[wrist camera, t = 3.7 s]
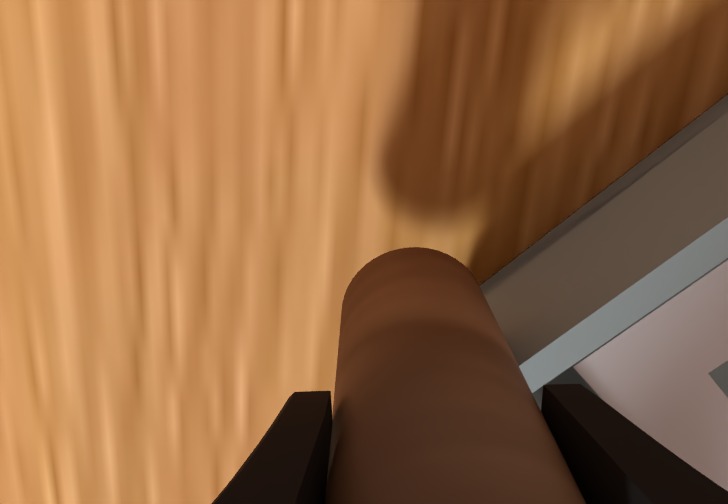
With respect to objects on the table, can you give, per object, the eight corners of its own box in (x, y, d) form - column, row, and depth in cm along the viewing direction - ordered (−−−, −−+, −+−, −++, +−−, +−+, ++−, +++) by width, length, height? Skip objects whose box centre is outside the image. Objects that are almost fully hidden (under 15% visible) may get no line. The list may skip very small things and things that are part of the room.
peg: (405, 399, 15) (449, 766, 7) (311, 310, 14) (248, 624, 6) (513, 318, 14) (692, 639, 6) (421, 217, 13) (500, 450, 5)
